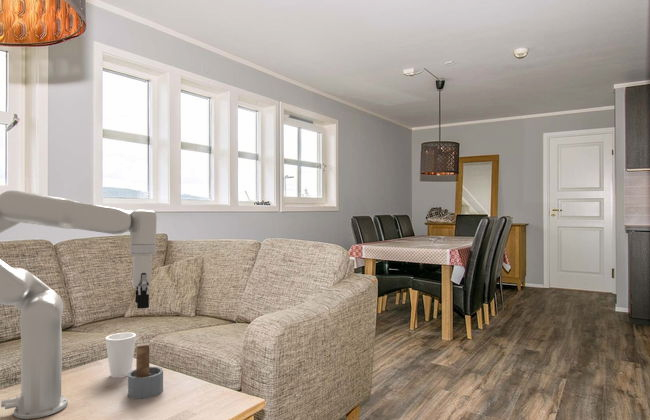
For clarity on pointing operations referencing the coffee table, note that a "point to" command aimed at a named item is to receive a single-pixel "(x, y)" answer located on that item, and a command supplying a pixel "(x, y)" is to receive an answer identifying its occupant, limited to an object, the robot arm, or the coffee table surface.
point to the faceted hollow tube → (145, 384)
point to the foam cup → (120, 353)
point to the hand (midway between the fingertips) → (141, 305)
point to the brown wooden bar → (142, 360)
